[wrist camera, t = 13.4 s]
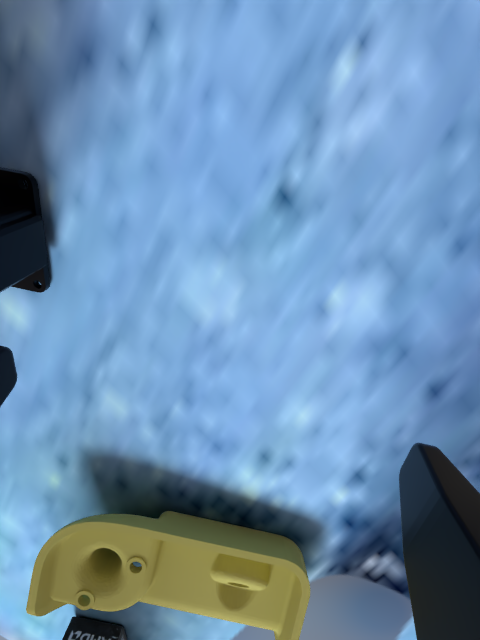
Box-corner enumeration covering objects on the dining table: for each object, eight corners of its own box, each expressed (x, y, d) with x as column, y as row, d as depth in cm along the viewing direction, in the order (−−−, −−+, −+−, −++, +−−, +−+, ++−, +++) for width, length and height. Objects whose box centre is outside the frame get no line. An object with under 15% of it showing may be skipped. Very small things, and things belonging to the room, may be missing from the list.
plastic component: (317, 566, 27) (285, 691, 28) (301, 507, 35) (276, 608, 35) (45, 506, 27) (20, 635, 28) (87, 460, 34) (66, 562, 35)
